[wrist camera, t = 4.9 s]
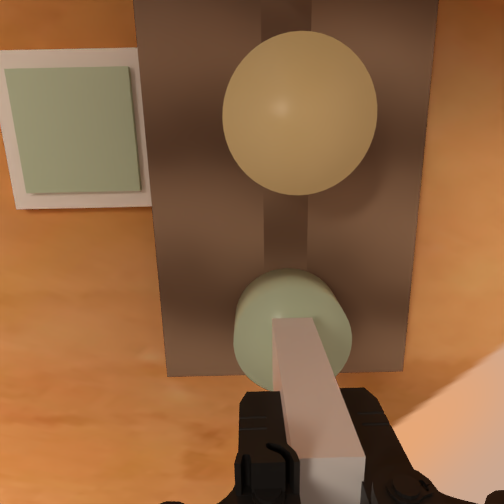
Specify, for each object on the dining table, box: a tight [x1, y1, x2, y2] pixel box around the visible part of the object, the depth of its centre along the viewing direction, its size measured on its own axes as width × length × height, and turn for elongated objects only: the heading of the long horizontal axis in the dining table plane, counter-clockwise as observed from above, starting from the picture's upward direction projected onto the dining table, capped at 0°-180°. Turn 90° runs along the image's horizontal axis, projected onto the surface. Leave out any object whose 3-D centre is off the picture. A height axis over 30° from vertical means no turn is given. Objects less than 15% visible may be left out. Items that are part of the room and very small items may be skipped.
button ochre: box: [222, 31, 377, 195], centre depth 14 cm, size 5×5×5 cm
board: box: [133, 0, 439, 377], centre depth 17 cm, size 24×12×2 cm, turn 1°
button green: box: [233, 268, 352, 391], centre depth 17 cm, size 5×5×5 cm
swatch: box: [0, 48, 152, 209], centre depth 17 cm, size 7×7×1 cm
